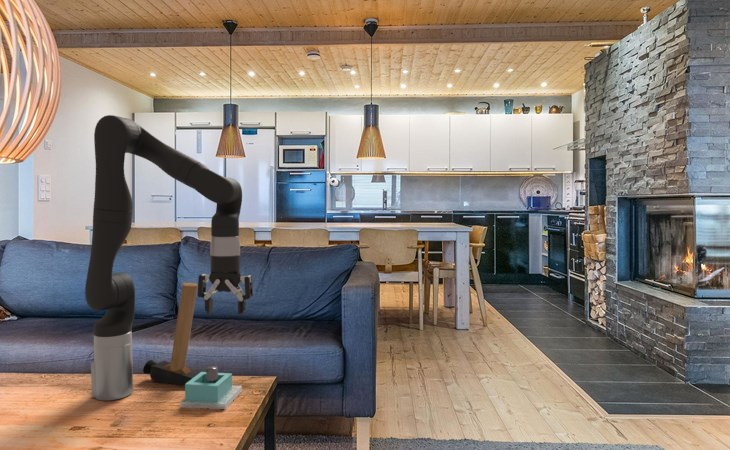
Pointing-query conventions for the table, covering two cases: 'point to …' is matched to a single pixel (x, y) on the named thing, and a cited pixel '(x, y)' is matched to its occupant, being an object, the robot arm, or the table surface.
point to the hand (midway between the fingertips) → (225, 313)
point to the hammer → (177, 344)
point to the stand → (221, 404)
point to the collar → (208, 387)
